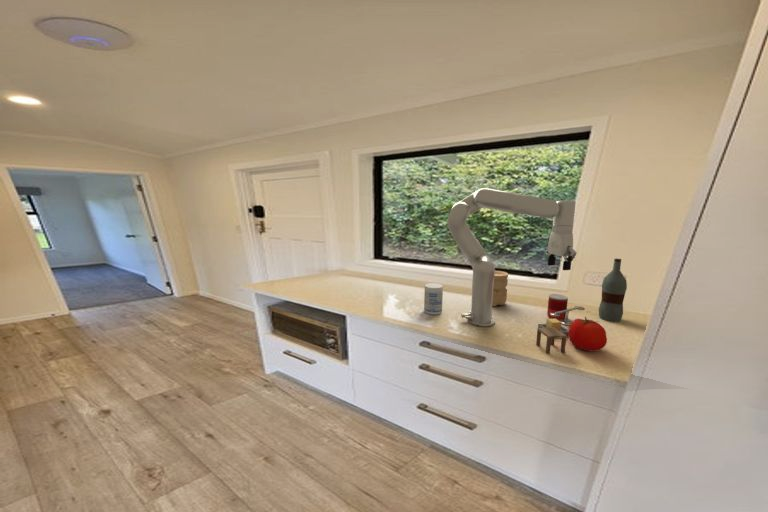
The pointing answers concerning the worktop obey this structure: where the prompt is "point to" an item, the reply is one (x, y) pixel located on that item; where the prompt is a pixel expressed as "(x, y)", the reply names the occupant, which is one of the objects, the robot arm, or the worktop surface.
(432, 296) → the supplement tub
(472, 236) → the robot arm
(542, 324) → the dish
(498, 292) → the container
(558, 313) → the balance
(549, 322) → the block
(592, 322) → the tomato
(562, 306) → the canned food
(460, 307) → the worktop surface
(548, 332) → the small wooden table
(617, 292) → the bottle
